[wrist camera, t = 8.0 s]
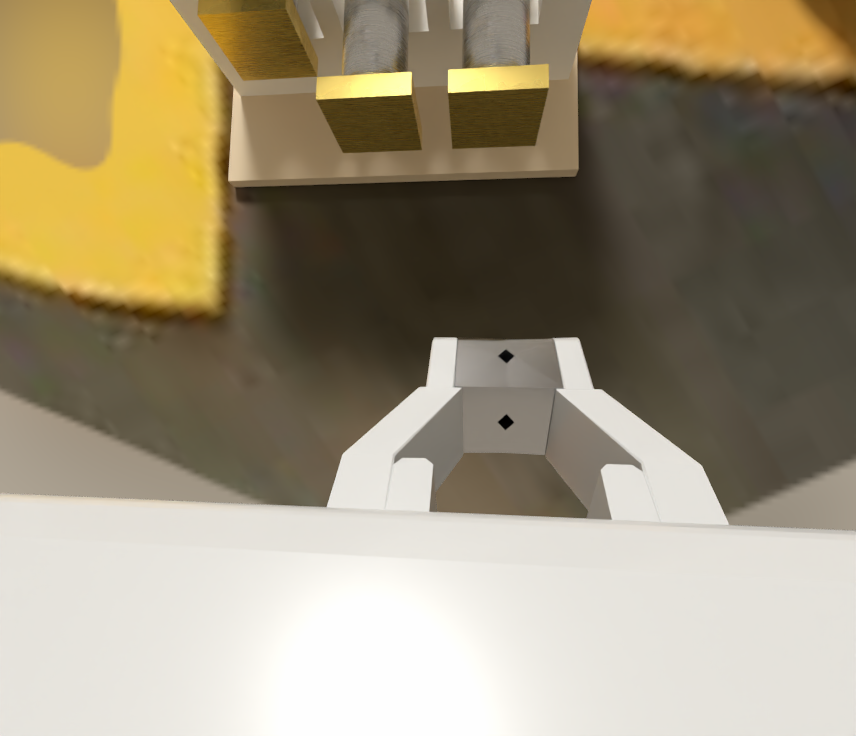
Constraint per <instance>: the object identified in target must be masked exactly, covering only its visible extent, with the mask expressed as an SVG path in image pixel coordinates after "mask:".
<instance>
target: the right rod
mask: <svg viewBox="0 0 856 736" xmlns="http://www.w3.org/2000/svg"><path fill="white" fill-rule="evenodd" d="M548 90H549V64H539V65H530V0H463V42H462V69H450V70H448V100H449V113H450V125H451V138H452V149H464V148H490V147H516V146H535V144H536V140H537V136H538V132H539V128H540V123H541V119H542V115H543V111H544V107H545V102H546V98H547V94H548Z"/></svg>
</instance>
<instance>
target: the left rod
mask: <svg viewBox="0 0 856 736" xmlns="http://www.w3.org/2000/svg"><path fill="white" fill-rule="evenodd" d="M297 6H298V0H198V13H197V15H198V17H199V18H200V20H201V21H202V22H203V24H204V25H205V27H206V28H207V30H208V31H209V32H210V34H211V35H212V37H213V38H214V40H215V41H216V42H217V44H218V45H219V47H220V48H221V50H222V51H223V52H224V54H225V55H226V57H227V58H228V60H229V61H230V62H231V64H232V65H233V67H234V68H235V70H236V71H237V72H238V74H239V75H240V77H241V78H242V80H243V81H249V80H267V79H285V78H302V77H317V75H318V57H317V55H316V52H315V50H314V48H313V46H312V43H311V41H310V39H309V36H308V34H307V32H306V30H305V27H304V25H303V23H302V21H301V18H300V16H299V14H298V12H297Z"/></svg>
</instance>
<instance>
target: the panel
mask: <svg viewBox="0 0 856 736" xmlns="http://www.w3.org/2000/svg"><path fill="white" fill-rule="evenodd" d="M591 1H592V0H530V65H539V64H549V90H548V94H547V98H546V102H545V107H544V111H543V115H542V119H541V123H540V128H539V132H538V136H537V140H536V144H535V146H516V147H490V148H464V149H452V138H451V125H450V113H449V100H448V70H450V69H462V42H463V0H409V41H408V72H412V76H413V82H414V87H415V93H416V98H417V104H418V109H419V115H420V121H421V126H422V150H414V151H388V152H362V153H343V152H342V150H341V148H340V146H339V144H338V142H337V140H336V138H335V136H334V134H333V132H332V130H331V128H330V126H329V124H328V122H327V120H326V118H325V116H324V115H323V113H322V111H321V109H320V107H319V105H318V103H317V101H316V86H317V77H326V76H342V56H343V29H344V2H345V0H298V6H297V12H298V14H299V16H300V18H301V21H302V23H303V25H304V27H305V30H306V32H307V34H308V36H309V39H310V41H311V43H312V46H313V48H314V50H315V52H316V55H317V57H318V75H317V77H302V78H285V79H267V80H249V81H243V80H242V78H241V77H240V75H239V74H238V72H237V71H236V70H235V68H234V67H233V65H232V64H231V62H230V61H229V60H228V58H227V57H226V55H225V54H224V52H223V51H222V50H221V48H220V47H219V45H218V44H217V42H216V41H215V40H214V38H213V37H212V35H211V34H210V32H209V31H208V30H207V28H206V27H205V25H204V24H203V22H202V21H201V20H200V18H199V17H198V15H197V13H198V0H170V2H171V3H172V4H173V6H174V7H175V8H176V10H177V11H178V12H179V14H180V15H181V17H182V18H183V19H184V21H185V22H186V23H187V25H188V26H189V27H190V29H191V30H192V31H193V33H194V34H195V35H196V37H197V38H198V39H199V41H200V42H201V43H202V45H203V46H204V48H205V49H206V50H207V52H208V53H209V54H210V56H211V57H212V58H213V60H214V61H215V62H216V64H217V65H218V66H219V68H220V69H221V70H222V72H223V73H224V74H225V76H226V77H227V79H228V80H229V81H230V83H231V84H232V85H233V87H234V92H233V109H232V126H231V143H230V160H229V177H228V181H229V182H230V183H231V184H232V185H233V186H234V187H262V186H293V185H324V184H356V183H387V182H418V181H449V180H481V179H512V178H543V177H574V176H576V174H577V172H578V170H579V162H578V79H577V49H578V45H579V42H580V39H581V35H582V32H583V28H584V25H585V21H586V18H587V15H588V11H589V8H590V4H591Z"/></svg>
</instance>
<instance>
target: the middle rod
mask: <svg viewBox="0 0 856 736" xmlns="http://www.w3.org/2000/svg"><path fill="white" fill-rule="evenodd" d="M408 41H409V0H345V2H344V29H343V56H342V76H326V77H317V86H316V101H317V103H318V105H319V107H320V109H321V111H322V113H323V115H324V116H325V118H326V120H327V122H328V124H329V126H330V128H331V130H332V132H333V134H334V136H335V138H336V140H337V142H338V144H339V146H340V148H341V150H342V152H343V153H362V152H388V151H414V150H422V126H421V121H420V115H419V109H418V104H417V98H416V93H415V87H414V82H413V76H412V72H408Z"/></svg>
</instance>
